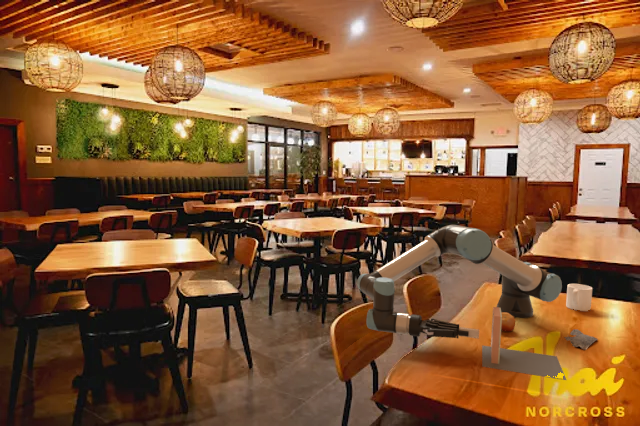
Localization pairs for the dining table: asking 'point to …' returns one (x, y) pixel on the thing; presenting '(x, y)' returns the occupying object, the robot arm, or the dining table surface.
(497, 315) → the terracotta tile
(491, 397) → the dining table surface
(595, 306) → the dining table surface
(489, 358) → the rubber mat
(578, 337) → the stone slab
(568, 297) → the mug
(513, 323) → the fruit
